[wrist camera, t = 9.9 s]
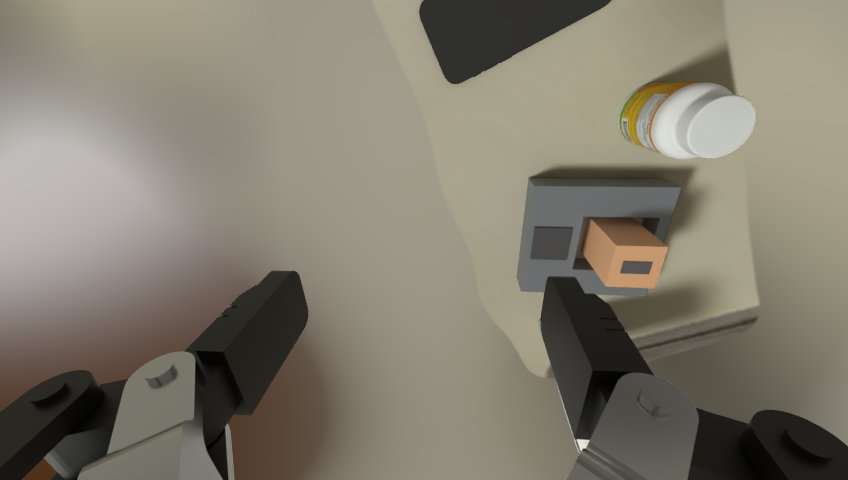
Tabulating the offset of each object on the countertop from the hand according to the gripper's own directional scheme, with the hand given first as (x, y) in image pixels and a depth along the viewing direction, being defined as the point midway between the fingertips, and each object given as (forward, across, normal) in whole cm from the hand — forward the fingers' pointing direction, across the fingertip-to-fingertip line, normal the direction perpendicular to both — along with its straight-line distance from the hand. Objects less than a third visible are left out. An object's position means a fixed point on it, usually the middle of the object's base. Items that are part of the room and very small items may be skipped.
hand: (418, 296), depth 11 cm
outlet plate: (+25, -15, +10) cm, 31 cm away
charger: (+25, -17, +10) cm, 31 cm away
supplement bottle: (+26, -19, -2) cm, 32 cm away
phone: (+26, -6, -11) cm, 29 cm away
